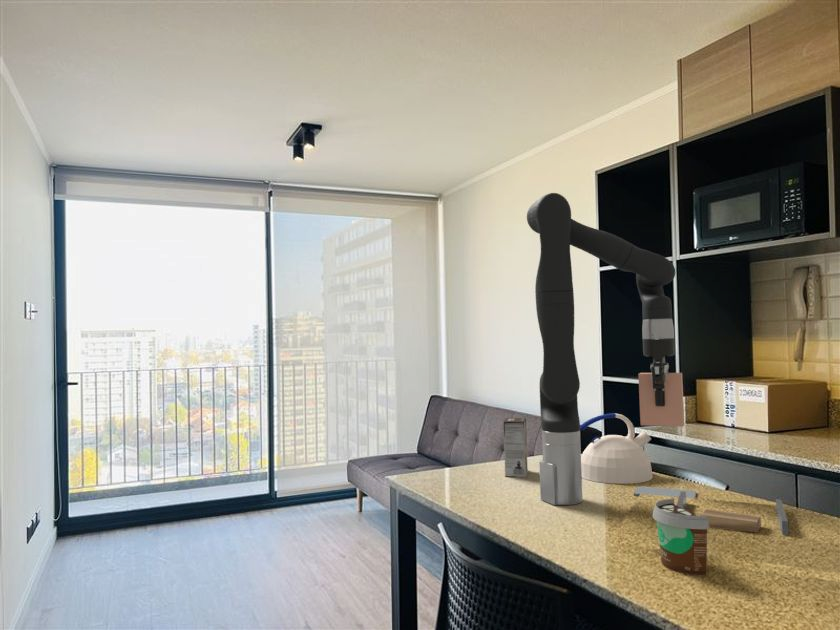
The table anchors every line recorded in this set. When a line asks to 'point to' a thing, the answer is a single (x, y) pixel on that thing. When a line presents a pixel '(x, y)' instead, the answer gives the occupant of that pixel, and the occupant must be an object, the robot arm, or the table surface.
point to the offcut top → (733, 520)
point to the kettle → (616, 456)
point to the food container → (681, 538)
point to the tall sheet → (673, 401)
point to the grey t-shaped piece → (663, 492)
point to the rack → (779, 510)
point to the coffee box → (515, 447)
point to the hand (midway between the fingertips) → (661, 404)
